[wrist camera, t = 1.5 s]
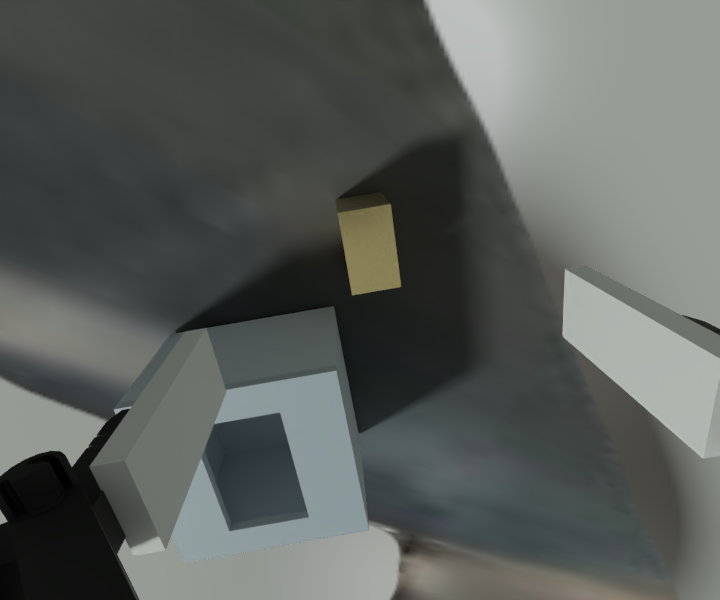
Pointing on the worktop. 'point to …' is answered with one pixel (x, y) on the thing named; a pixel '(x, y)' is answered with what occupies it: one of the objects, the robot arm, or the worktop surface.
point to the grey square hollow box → (272, 440)
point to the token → (369, 242)
